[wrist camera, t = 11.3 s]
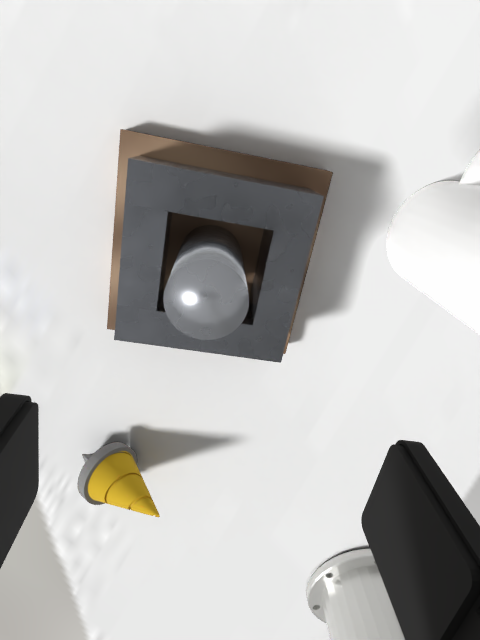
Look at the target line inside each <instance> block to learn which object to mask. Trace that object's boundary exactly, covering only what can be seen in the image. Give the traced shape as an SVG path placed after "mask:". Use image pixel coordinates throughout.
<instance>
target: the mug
mask: <svg viewBox="0 0 480 640" xmlns="http://www.w3.org/2000/svg"><path fill="white" fill-rule="evenodd" d="M387 254H388V258H389V261H390V263H391V265H392V267H393V269H394V270H395V271H396V272H397V274H398V275H399V276H401V277H402V278H403V279H405V280H406V281H407V282H409V283H410V284H411V285H413V286H414V287H415V288H417V289H418V290H419V291H421V292H422V293H423V294H425V295H426V296H427V297H429V298H430V299H431V300H433V301H434V302H435V303H437V304H438V305H439V306H441V307H442V308H444V309H445V310H446V311H448V312H449V313H450V314H452V315H453V316H454V317H456V318H457V319H458V320H460V321H461V322H462V323H464V324H465V325H466V326H468V327H469V328H470V329H472V330H473V331H474V332H476V333H477V334H479V335H480V150H479V151H478V152H477V153H476V155H475V156H474V157H473V159H472V160H471V162H470V163H469V165H468V167H467V168H466V170H465V172H464V174H463V176H462V178H461V180H460V182H459V181H441V182H436V183H433V184H430V185H427V186H425V187H423V188H421V189H420V190H418V191H416V192H415V193H414V194H412V195H411V196H410V197H409V198H408V199H407V200H405V202H404V203H403V204H402V205H401V206H400V208H399V209H398V210H397V212H396V214H395V215H394V217H393V219H392V221H391V224H390V226H389V230H388V235H387Z"/></svg>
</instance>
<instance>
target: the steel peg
mask: <svg viewBox="0 0 480 640" xmlns="http://www.w3.org/2000/svg"><path fill="white" fill-rule="evenodd" d="M163 301H164V308H165V312H166V314H167V316H168V318H169V320H170V321H171V323H172V324H173V325H174V326H175V327H176V328H177V329H178V330H179V331H181V332H182V333H183V334H185V335H187V336H190V337H192V338H196V339H201V340H213V339H218V338H222V337H224V336H226V335H228V334H230V333H232V332H233V331H234V330H236V329H237V328H238V327H239V326H240V324H241V323H242V322H243V320H244V319H245V316H246V314H247V311H248V307H249V294H248V288H247V282H246V276H245V271H244V265H243V259H242V253H241V248H240V245H239V243H238V241H237V239H236V238H235V236H234V235H233V234H232V233H231V232H229V231H228V230H226V229H225V228H222V227H220V226H216V225H204V226H200V227H198V228H196V229H194V230H192V231H191V232H190V233H189V234H188V235H187V236H186V237H185V239H184V240H183V242H182V245H181V247H180V250H179V253H178V255H177V258H176V261H175V263H174V266H173V269H172V271H171V274H170V277H169V279H168V282H167V284H166V287H165V291H164V297H163Z"/></svg>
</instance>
